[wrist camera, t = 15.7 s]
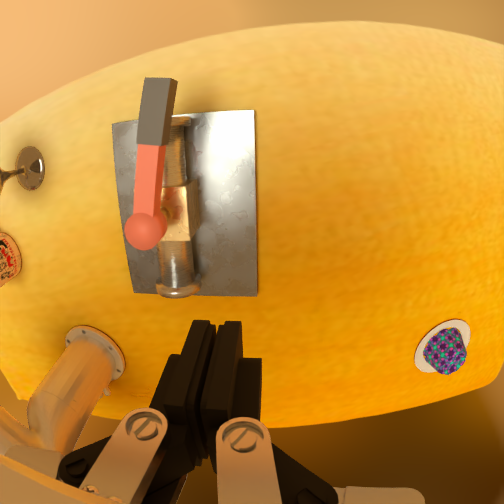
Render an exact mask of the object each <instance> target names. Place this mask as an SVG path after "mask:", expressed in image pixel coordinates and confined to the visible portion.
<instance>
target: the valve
mask: <svg viewBox="0 0 504 504" xmlns="http://www.w3.org/2000/svg"><path fill="white" fill-rule="evenodd" d="M137 129H138V120H133V121H126V122H120V123H114V124H112V134H113V149H114V162H115V173H116V183H117V192H118V200H119V208H120V216H121V223H122V229H123V236H124V242H125V248H126V254H127V260H128V265H129V270H130V275H131V280H132V285H133V290H134V293H147V294H160V295H161V296H163V297H166V298H184V297H188V296H191V295H203V296H257V293H258V292H257V227H256V171H255V121H254V110H240V111H219V112H204V113H191V114H180V115H172V122H171V129H170V137H169V145H166V152H165V161H164V171H163V181H162V193H161V206H160V211H161V212H162V213H163V214H164V216H165V218H166V220H167V231H166V234H165V235H164V237H163V238H162V239H161V240H160V241H159V242H158V243H157V244H156V245H155V246H154V247H153V248H152V249H149V250H139V249H136V248H134V247H133V246H132V245H131V244H130V243H129V242H128V240H127V239H126V236H125V232H124V227H125V223H126V221H127V220H128V218H129V217H130V216H132V215H133V206H134V188H135V173H136V161H137V150H138V144H136V138H137Z"/></svg>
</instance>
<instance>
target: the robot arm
mask: <svg viewBox="0 0 504 504" xmlns="http://www.w3.org/2000/svg"><path fill="white" fill-rule="evenodd" d="M65 344H66V350H65V351H64V352H63V354H62V355H61V356H60V358H59V359H58V360H57V362H56V363H55V364H54V366H53V367H52V368H51V370H50V371H49V372H48V374H47V375H46V376H45V378H44V379H43V380H42V382H41V383H40V385H39V386H38V387H37V389H36V390H35V392H34V393H33V394H32V396H31V397H30V399H29V402H28V406H27V417H28V424H29V429H28V428H26V427H25V426H24V425H22V424H21V423H20V422H18V421H17V420H16V419H15V418H14V417H13V416H12V415H11V414H9V413H8V412H7V411H6V410H5V409H4V408H3V407H2V406H1V405H0V504H176V502H177V500H178V498H179V495H180V493H181V491H182V488H183V486H184V483H185V481H186V477H187V473H189V472H190V471H192V470H194V468H195V466H201V464H202V459H203V458H204V459H207V458H208V456H210V459H211V463H212V467H213V470H214V472H215V473H216V474H217V482H218V503H219V504H425V501H424V497H423V496H422V494H421V493H420V492H419V491H417V490H415V489H411V488H368V487H367V488H366V487H350V486H347V487H346V488H335V487H332V486H331V485H330V484H328V483H327V482H325V481H324V480H322V479H321V478H319V477H318V476H316V475H315V474H314V473H312V472H311V471H309V470H308V469H306V468H305V467H303V466H302V465H301V464H299V463H298V462H297V461H295V460H294V459H292V458H291V457H290V456H288V455H287V454H285V453H284V452H283V451H282V450H280V449H279V448H278V447H277V446H275V445H274V444H273V443H271V439H270V434H269V432H268V429H267V427H266V426H265V425H264V424H263V423H261V422H260V412H261V388H262V358H243V345H242V325H241V321H225V324H224V325H219V327H218V331H217V334H216V326H215V325H212V324H210V321H209V320H193V322H192V325H191V328H190V330H189V333H188V336H187V338H186V341H185V344H184V347H183V349H182V352H181V355H179V354H171V355H170V356H169V358H168V361H167V363H166V366H165V368H164V371H163V373H162V376H161V378H160V381H159V383H158V386H157V388H156V391H155V393H154V396H153V399H152V401H151V404H150V406H149V408H139V409H136V410H133V411H131V412H130V413H128V414H127V415H126V416H125V417H124V418H123V419H122V421H121V422H120V424H119V426H118V427H117V429H116V430H115V432H114V433H113V435H111V436H109V437H107V438H104V439H102V440H100V441H98V442H95V443H93V444H90V445H88V446H85V447H83V448H80V449H78V450H75V451H73V449H74V447H75V444H76V442H77V440H78V438H79V436H80V434H81V432H82V430H83V428H84V426H85V424H86V422H87V420H88V418H89V417H90V415H91V413H92V411H93V409H94V407H95V405H96V403H97V401H98V400H99V398H102V397H103V392H104V394H105V395H106V396H109V395H110V394H111V392H110V389H109V387H108V386H109V384H110V382H111V380H115V379H118V378H119V377H120V376H121V375H122V373H123V371H124V369H125V360H124V357H123V354H122V352H121V351H120V349H119V348H118V346H117V345H116V344H115V343H114V342H113V341H112V340H111V339H110V338H109V337H108V336H107V335H105V334H104V333H102V332H101V331H99V330H97V329H95V328H92V327H89V326H76V327H74V328H72V329H71V330H70V331H69V332H68V334H67V335H66V339H65Z"/></svg>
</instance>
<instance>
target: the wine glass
mask: <svg viewBox="0 0 504 504" xmlns="http://www.w3.org/2000/svg"><path fill="white" fill-rule="evenodd" d="M44 171H45V167H44V160H43V157H42V155H41V153H40V152H39V151H38V150H37V149H36V148H35V147H32V146H28V147H25V148H24V149H22V150H21V152H20V153H19V155H18V157H17V160H16V165H15V170H12V171H4V170H3V169H1V168H0V195H1V192H2V189H3V186H4V183H5V182H6V181H7V180H8V179H10V178H11V177H13V176H17V179H18V182H19V183H20V185H21V186H22V187H23V188H24V189H26V190H29V191H32V190H35V189H37V188H38V187H39V186H40V184H41V183H42V181H43V178H44Z"/></svg>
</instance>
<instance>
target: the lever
mask: <svg viewBox="0 0 504 504" xmlns="http://www.w3.org/2000/svg"><path fill="white" fill-rule="evenodd" d="M177 83H178V81H176V80H174V79H171V78H145V80H144V86H143V92H142V98H141V105H140V113H139V120H138V129H137V138H136V144H138V150H137V161H136V173H135V188H134V206H133V215H132V216H130V217H129V218H128V220H127V221H126V223H125V227H124V232H125V236H126V239H127V240H128V242H129V243H130V244H131V245H132V246H133V247H134V248H136V249H139V250H149V249H152V248H153V247H154V246H155V245H156V244H157V243H158V242H159V241H160V240H161V239H162V238H163V237H164V235H165V234H166V231H167V220H166V218H165V216H164V214H163V213H162V212H161V211H160V206H161V193H162V181H163V171H164V161H165V152H166V145H169V137H170V129H171V122H172V115H173V108H174V101H175V95H176V89H177Z"/></svg>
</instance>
